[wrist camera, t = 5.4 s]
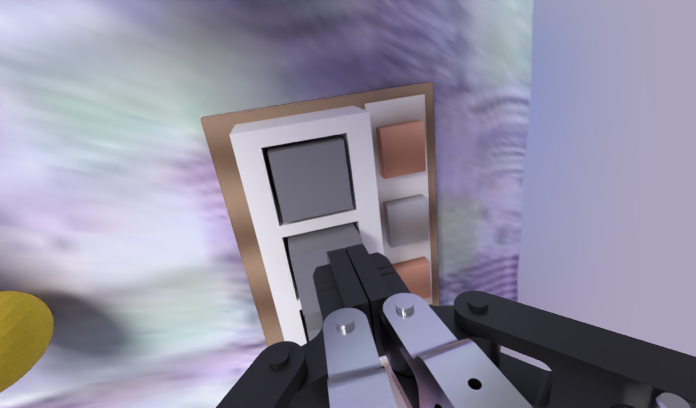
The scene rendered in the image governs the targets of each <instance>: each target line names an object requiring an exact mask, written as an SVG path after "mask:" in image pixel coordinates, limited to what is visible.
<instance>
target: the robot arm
mask: <svg viewBox="0 0 696 408" xmlns="http://www.w3.org/2000/svg"><path fill="white" fill-rule="evenodd" d="M326 255H327V261H328V264H327V265H323V266H319V267H316V269H315V271H314V274H313V280H314V285H315V290H316V294H317V299H318V304H319V309H320V313H321V317H322V322H323V325H322V328H321V330H320V332H319V333H318V335H317V336H316V337H315V338H313V339H312V340H311V341H309V342H308V343H306V344H304V345H302V346H300V345H299V344H297V343H295V342H292V341H281V342H277V343H275V344H272V345H270V346H269V347H267V348H266V349H265V350H263V351H262V352H261V353H260V355H259V356H258V357H257V358H256V359H255V361H254V362H253V363H252V364H251V365H250V367H249V368H248V369H247V370H246V372H245V373H244V374H243V375H242V376H241V378H240V379H239V380H238V381H237V383H236V384H235V385H234V386H233V387H232V389H231V390H230V391H229V392H228V393H227V395H226V396H225V397H224V398H223V400H222V401H221V402H220V403H219V404H218V406H217V407H216V408H397V405H396V402H395V399H394V396H393V392H392V389H391V386H390V383H389V380H388V376H387V373H386V370H385V368H384V366H381V363H380V360H379V357H381V356H384V355H386V356H387V358H388V361H389V366H390V373H391V376H392V378H393V380H394V382H395V384H396V386H397V388H398V390H399V392H400V394H401V396H402V398H403V400H404V402H405V404H406V406H407V408H696V357H694V356H691V355H688V354H685V353H681V352H678V351H675V350H671V349H668V348H665V347H662V346H659V345H655V344H652V343H648V342H645V341H642V340H639V339H636V338H632V337H629V336H626V335H622V334H619V333H616V332H613V331H609V330H606V329H603V328H600V327H596V326H593V325H590V324H587V323H583V322H580V321H577V320H574V319H570V318H567V317H564V316H560V315H557V314H554V313H551V312H547V311H544V310H540V309H538V308H534V307H531V306H528V305H524V304H521V303H518V302H515V301H512V300H508V299H505V298H502V297H499V296H495V295H492V294H489V293H485V292H481V291H467V292H464V293H461V294H460V295H458V296H457V297H456V299H455V301H454V305H453V306H433V305H428V304H427V303H426V302H425V301H424V300H423V299H422V298H421V297H420V296H418V295H415V294H411V292H410V291H409V289H408V288H407V286H406V285H405V283H404V282H403V280H402V279H401V277H400V276H399V274H398V273H397V272H396V270H395V268H394V267H393V266H392V264H391V262H390V261H389V259H388V258H387V257H386V256H384V255H382V254H381V253H379V252H376V253H372V254H369V253H368V251H367V250H366V248H365V246H364V245H363V243H361V244H357V245H353V246H349V247H345V249H344V248H340V249H336V250H332V251H328V252H326ZM501 346H504V347H506V348H509V349H512V350H514V351H517V352H519V353H522V354H524V355H527V356H529V357H532V358H535V359H537V360H540V361H542V362H543V363H545V364H546V365H547V366H548V367H549V368H550V369H551V370H552V371H546V370H544V369H541V368H539V367H536V366H534V365H531V364H529V363H526V362H523V361H521V360H519V359H516V358H514V357H511V356H509V355H506V354H504V353H501V352H500V349H501Z"/></svg>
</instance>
